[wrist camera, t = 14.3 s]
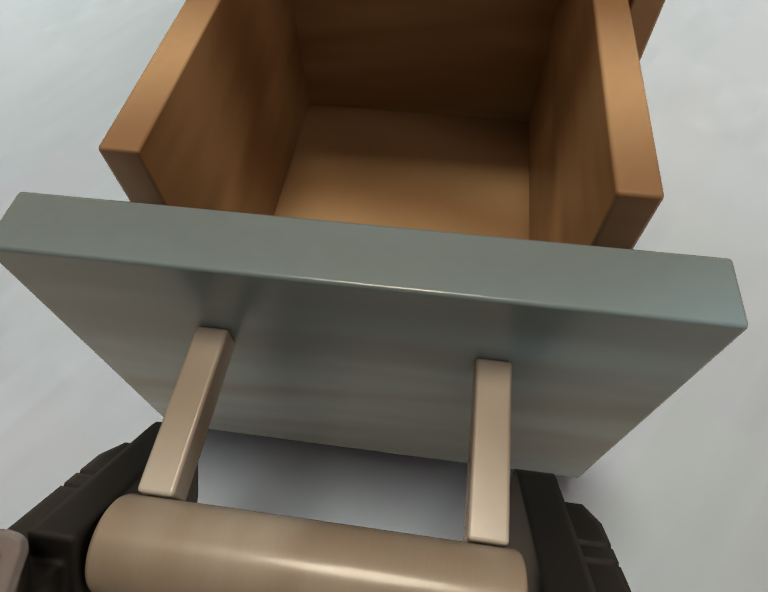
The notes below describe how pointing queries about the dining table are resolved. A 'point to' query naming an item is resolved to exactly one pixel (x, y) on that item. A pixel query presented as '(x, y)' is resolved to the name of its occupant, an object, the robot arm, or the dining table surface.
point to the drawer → (374, 272)
